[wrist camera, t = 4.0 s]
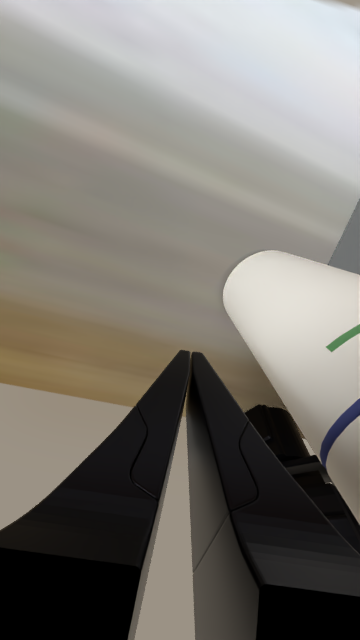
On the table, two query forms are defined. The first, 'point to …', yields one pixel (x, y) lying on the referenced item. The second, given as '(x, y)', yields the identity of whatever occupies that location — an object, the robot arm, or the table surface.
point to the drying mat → (349, 246)
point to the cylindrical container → (307, 351)
